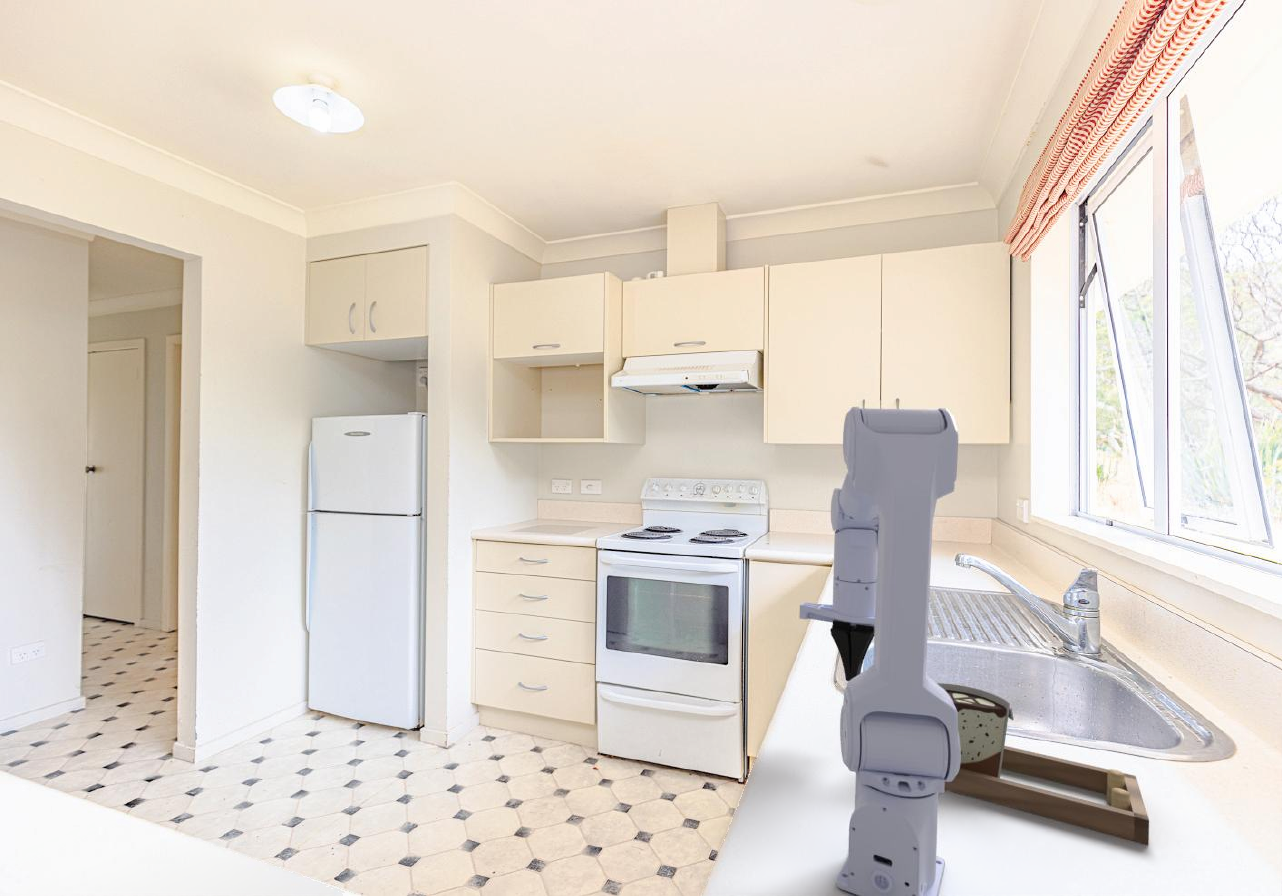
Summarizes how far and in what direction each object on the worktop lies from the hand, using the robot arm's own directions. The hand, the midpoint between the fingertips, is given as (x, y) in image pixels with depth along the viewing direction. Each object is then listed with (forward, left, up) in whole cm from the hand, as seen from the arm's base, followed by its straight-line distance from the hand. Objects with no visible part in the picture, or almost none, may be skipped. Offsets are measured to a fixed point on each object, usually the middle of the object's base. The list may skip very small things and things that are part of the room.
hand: (852, 679), depth 88 cm
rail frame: (0, -21, -9) cm, 23 cm away
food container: (0, -12, -9) cm, 15 cm away
